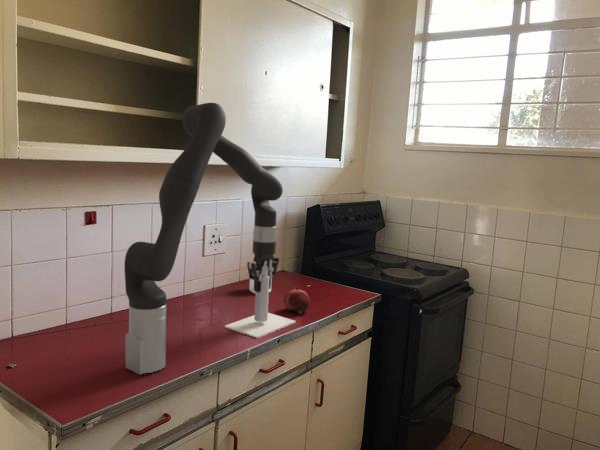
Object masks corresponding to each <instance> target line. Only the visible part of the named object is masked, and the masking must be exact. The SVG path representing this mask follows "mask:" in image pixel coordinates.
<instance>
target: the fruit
mask: <svg viewBox="0 0 600 450" xmlns="http://www.w3.org/2000/svg"><path fill="white" fill-rule="evenodd" d="M296 285H297V286H295V285H293V289H292V290H290V291H288V292H287V293H286V294H285V295H284V299H283V304H284V307H285V309H287V310H288V311H291V312H292V311H293V312H295V313H299V314H303V312H305V311H307V310H308V309H309V308H310V304H311V303H310V297H309V294H308V293H307V292H306V291H305V290H302V289H300V287H299V284H296Z"/></svg>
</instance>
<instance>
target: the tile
mask: <svg viewBox="0 0 600 450" xmlns="http://www.w3.org/2000/svg"><path fill="white" fill-rule="evenodd" d="M254 318H255V314H253V315H252V316H248V317H245V318H242V319H240V320H237V321H234V322H232V323H228V324H226V325H224V328H226V329H228V330H231V331H234V332H237V333H240V334H243V335H245V334H247V335H246V336H248V335H249V337H251V336H252V338H254V337H255V339H257V338H258V339H260V338H262V336H263V337H265V336H268V335H269V333H270V334H271V333H272V334H273V333H274V332H276V330H277V331H279V330H281V328H282V329H283V328H286V327H288V326H291V325H293V324H295V323H297V321H296V320H294V319H291V318H287V317H284V316H281V315H277V314H274V313H271V312H268V319H267V321H265V322H258V321H255V320H254ZM259 337H260V338H259Z"/></svg>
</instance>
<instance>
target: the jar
mask: <svg viewBox="0 0 600 450" xmlns="http://www.w3.org/2000/svg"><path fill="white" fill-rule="evenodd" d="M257 275H258V274H257ZM272 278H273V277H272ZM272 278H271V283H272V280H273V279H272ZM249 291H250V293H253V294H256V292H255V291H254V280H253V279H250V278H249ZM270 292H272V286H271V287H270V289H269V293H270Z"/></svg>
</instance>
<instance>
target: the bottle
mask: <svg viewBox="0 0 600 450" xmlns="http://www.w3.org/2000/svg"><path fill="white" fill-rule="evenodd" d="M267 263H269V262H267ZM258 271H261V270H258ZM258 276H259V274H258V275H257V277H258ZM254 294H255V293H254ZM269 296H270V292H269V275H268V266H265V270H264V274H263V275H262V278H261V291H260V292H256V294H255V298H254V299H255V301H254V315H255V318H254V320H255V321H258V322H265V321H267V319H268V313H269V298H270V297H269Z"/></svg>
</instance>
